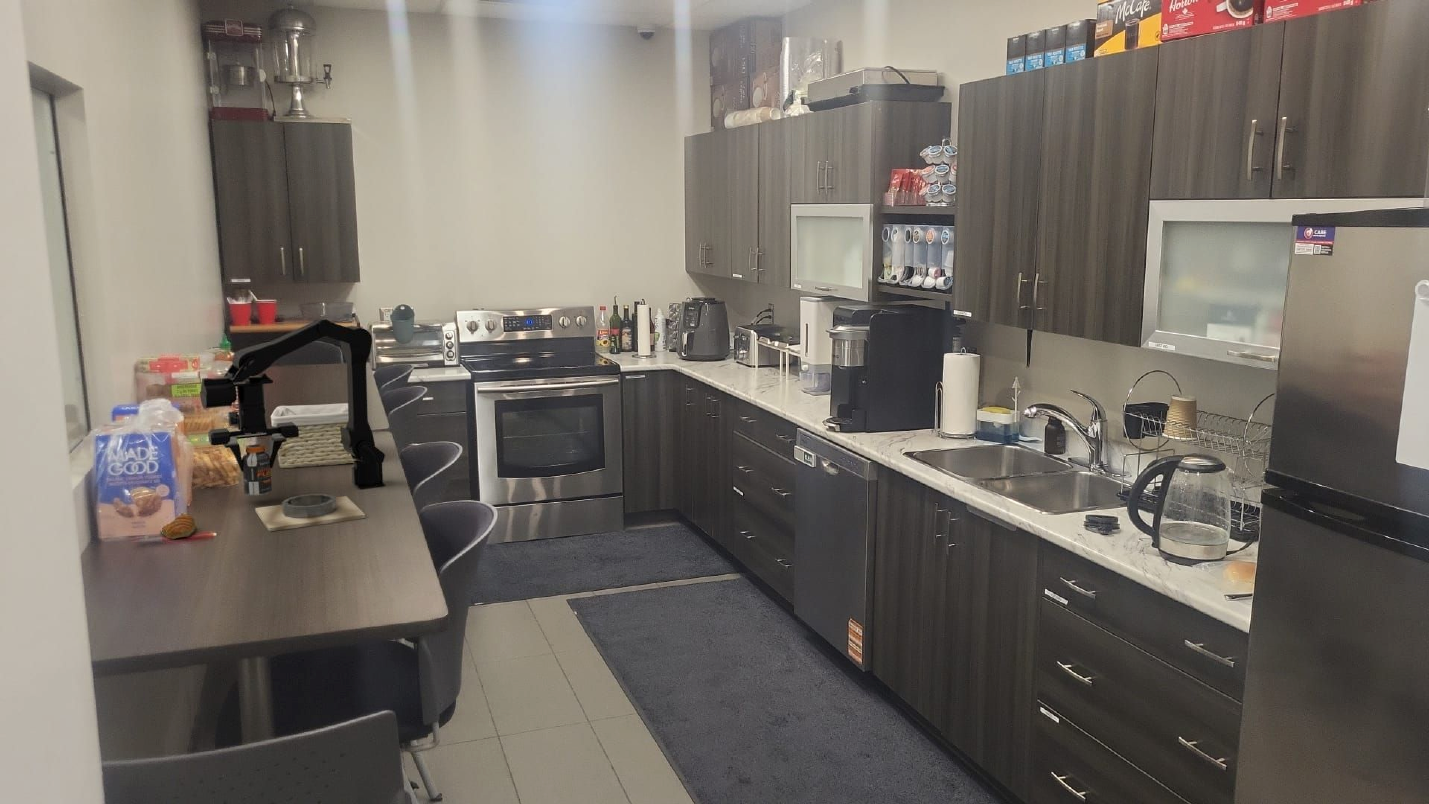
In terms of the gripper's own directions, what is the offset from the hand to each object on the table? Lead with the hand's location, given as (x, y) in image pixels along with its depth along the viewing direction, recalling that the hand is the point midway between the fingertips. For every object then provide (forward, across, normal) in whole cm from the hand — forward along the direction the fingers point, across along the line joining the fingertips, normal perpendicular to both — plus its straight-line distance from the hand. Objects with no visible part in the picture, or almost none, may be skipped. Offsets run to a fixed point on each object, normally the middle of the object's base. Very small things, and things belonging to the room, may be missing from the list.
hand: (256, 469), depth 242 cm
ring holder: (+8, -8, +17) cm, 20 cm away
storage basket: (+8, -22, -36) cm, 43 cm away
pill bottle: (+6, 0, 0) cm, 6 cm away
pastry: (+8, +18, +17) cm, 26 cm away
